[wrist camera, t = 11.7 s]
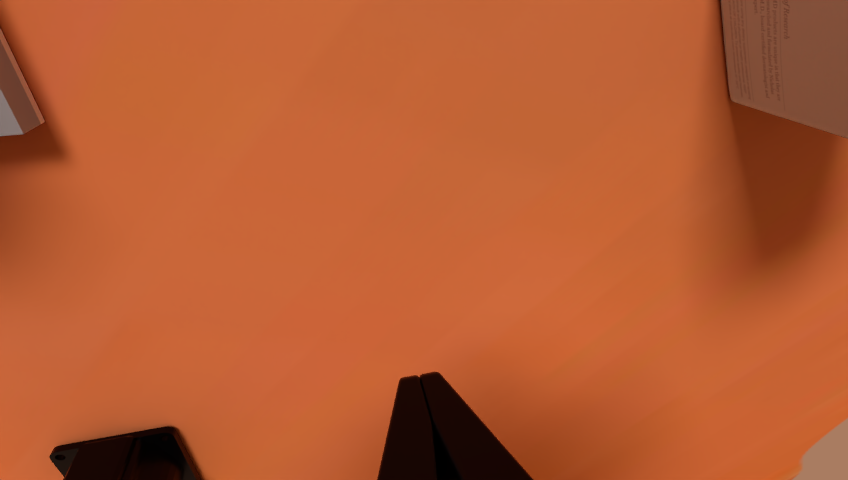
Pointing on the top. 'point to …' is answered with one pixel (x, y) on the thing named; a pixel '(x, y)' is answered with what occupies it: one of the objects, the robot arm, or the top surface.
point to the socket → (15, 96)
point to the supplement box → (789, 59)
